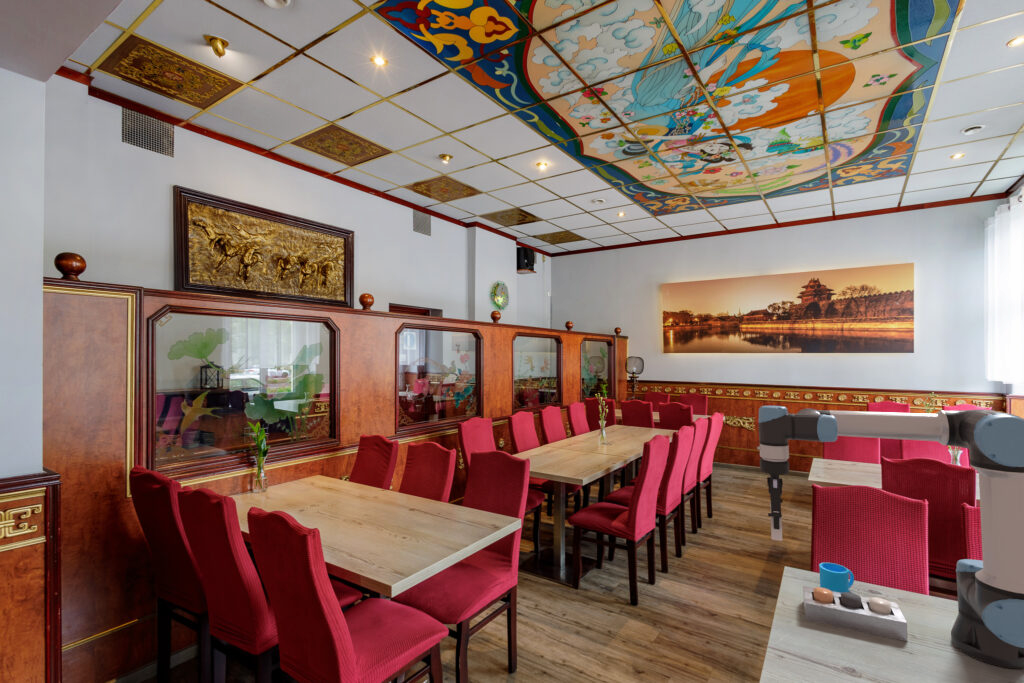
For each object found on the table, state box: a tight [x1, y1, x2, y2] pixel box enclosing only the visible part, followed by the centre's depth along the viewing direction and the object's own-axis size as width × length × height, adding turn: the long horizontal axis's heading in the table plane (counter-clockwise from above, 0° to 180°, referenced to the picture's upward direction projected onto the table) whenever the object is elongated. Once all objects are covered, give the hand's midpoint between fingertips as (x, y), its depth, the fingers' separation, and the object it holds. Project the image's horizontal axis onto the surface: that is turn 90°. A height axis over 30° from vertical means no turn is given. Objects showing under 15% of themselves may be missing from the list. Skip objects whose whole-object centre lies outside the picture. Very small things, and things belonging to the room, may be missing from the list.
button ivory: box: [868, 596, 891, 615], centre depth 140 cm, size 5×5×4 cm
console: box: [802, 585, 909, 642], centre depth 143 cm, size 24×12×5 cm, turn 62°
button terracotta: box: [813, 586, 833, 604], centre depth 147 cm, size 5×5×4 cm
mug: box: [818, 562, 855, 593], centre depth 161 cm, size 12×8×8 cm
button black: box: [841, 591, 862, 609], centre depth 144 cm, size 5×5×4 cm
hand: (776, 532), depth 140 cm, fingers open, 13 cm apart
